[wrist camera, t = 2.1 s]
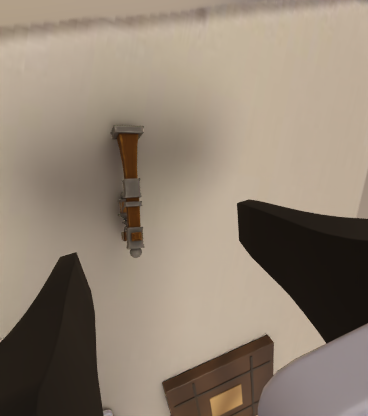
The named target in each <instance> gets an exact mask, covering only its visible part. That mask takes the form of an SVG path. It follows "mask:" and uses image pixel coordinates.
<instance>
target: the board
mask: <svg viewBox="0 0 368 416" xmlns="http://www.w3.org/2000/svg"><path fill="white" fill-rule="evenodd" d="M273 351H274V343H273V341H272V340H271V339H270V337H269V336H268V335H266V336H264V337H262V338H259V339H257V340H255V341H253V342H251V343H248V344H246V345H244V346H242V347H240V348H237V349H235V350H233V351H231V352H229V353H226V354H224V355H222V356H220V357H217V358H215V359H213V360H211V361H209V362H206V363H204V364H202V365H200V366H198V367H195V368H193V369H191V370H189V371H187V372H184V373H182V374H180V375H178V376H175V377H173V378H171V379H169V380H167V381H164V382H163V383H162V384H163V387H164V391H165V394H166V398H167V402H168V405H169V409H170V412H171V416H256V415H258V404H259V400H260V397H261V394H262V391H263V388H264V386H265V385H266V384H267V383H268V381H269V380H270V379H271V378H272V377H273Z"/></svg>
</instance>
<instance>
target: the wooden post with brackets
mask: <svg viewBox="0 0 368 416" xmlns="http://www.w3.org/2000/svg"><path fill="white" fill-rule="evenodd" d="M143 128H144V126H121V125H114V126H113V129H112V131H111V135H112V139H117V142H118V145H119V149H120V154H121V160H122V165H123V171H124V180H122V182H123V191H124V192H122V193H121V198H122V200H118V201H119V204H120V214H118V216H121V217H123V218H124V219H123V220H125V221H124V222H122V223H124V224H126V226H125V228H124V232H121V234H122V240H123V241H127V249H131V250H130V254H131V256H132V257H134V258H138V257H139V256H140V255H141V253H142V250H141V248H144V244H143V227H140V206H142V204H141V203H142V201H139V197H141V193H140V178H138V177H137V143H138V139H139V138H140V136H141V135H142V134H143V133H144V132H143ZM126 227H127V228H126ZM125 229H126V231H125Z"/></svg>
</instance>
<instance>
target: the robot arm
mask: <svg viewBox="0 0 368 416" xmlns="http://www.w3.org/2000/svg"><path fill="white" fill-rule="evenodd" d="M237 210H238V228H239V241H240V242H241V244H242V245H243V246H244V248H245V249H246V251H247V252H248V253H249V254H250V256H251V257H252V258H253V259H254V260H255V261H256V262H257V263H258V264H259V265H260V266H261V267H262V268H263V269H264V270H265V271H266V272H267V273H268V274H269V275H270V276H271V277H272V278H273V279H274V280H275V281H276V282H277V283H278V284H279V285H280V286H281V287H282V288H283V289H284V290H285V291H286V292H287V293H288V294H289V295H290V296H291V298H292V299H293V300H294V301H295V303H296V304H297V305H298V306H299V308H300V309H301V310H302V311H303V312H304V314H305V315H306V316H307V318H308V319H309V320H310V322H311V323H312V324H313V326H314V327H315V328H316V330H317V331H318V332H319V334H320V335H321V336H322V338H323V339H324V341H325V342H326V343H327V344H325V345H323V346H321V347H319V348H317V349H315V350H313V351H310V352H308V353H306V354H304V355H302V356H300V357H298V358H296V359H294V360H293V361H291V362H290V363H288V364H287V365H286V366H284V367H283V368H281V369H280V370H278V371H277V372H276V373H275V374H274V375H273V377H272V378H271V379H270V380H269V381H268V383H267V384H266V385H265V386H264V388H263V391H262V394H261V397H260V400H259V404H258V416H368V219H359V218H345V217H336V216H328V215H320V214H314V213H309V212H304V211H299V210H294V209H290V208H286V207H282V206H277V205H273V204H269V203H265V202H260V201H255V200H246V201H243V202H239V203H237ZM0 416H114V415H113V413H112V411H111V410H109V409H108V410H105V411H103V408H102V402H101V395H100V388H99V381H98V372H97V356H96V329H95V311H94V305H93V299H92V294H91V290H90V287H89V285H88V282H87V279H86V277H85V274H84V271H83V269H82V266H81V263H80V261H79V258H78V255H77V253H76V252H75V253H72V254H69V255H65V256H62V257H60V258H59V260H58V262H57V263H56V265H55V267H54V269H53V270H52V272H51V274H50V276H49V278H48V279H47V281H46V283H45V284H44V286H43V288H42V289H41V291H40V293H39V294H38V296H37V297H36V299H35V300H34V301H33V303H32V304H31V306H30V307H29V309H28V310H27V312H26V313H25V314H24V316H23V317H22V318H21V319H20V321H19V322H18V323H17V324H16V325H15V327H14V328H13V329H12V330H11V331H10V333H9V334H8V335H7V336H6V337H5V338H4V339H3V340H2V341H1V342H0Z"/></svg>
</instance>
